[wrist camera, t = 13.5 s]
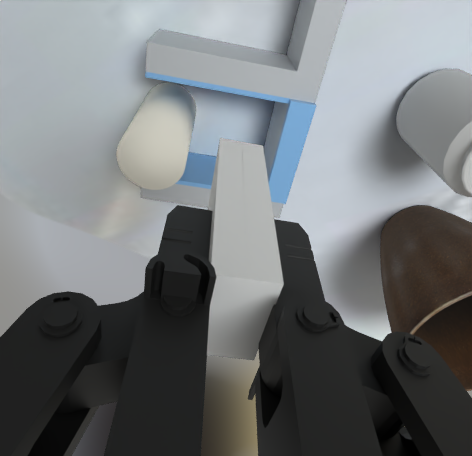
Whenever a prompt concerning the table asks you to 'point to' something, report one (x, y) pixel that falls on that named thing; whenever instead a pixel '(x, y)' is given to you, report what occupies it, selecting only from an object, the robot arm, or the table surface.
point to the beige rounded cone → (158, 138)
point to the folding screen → (251, 93)
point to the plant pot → (431, 282)
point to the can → (441, 125)
